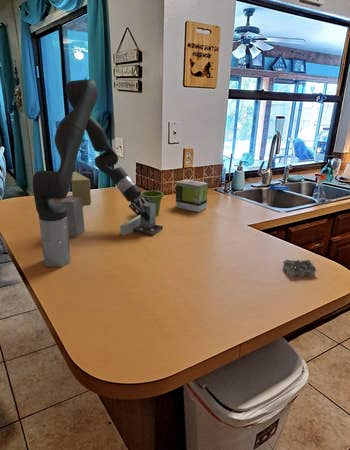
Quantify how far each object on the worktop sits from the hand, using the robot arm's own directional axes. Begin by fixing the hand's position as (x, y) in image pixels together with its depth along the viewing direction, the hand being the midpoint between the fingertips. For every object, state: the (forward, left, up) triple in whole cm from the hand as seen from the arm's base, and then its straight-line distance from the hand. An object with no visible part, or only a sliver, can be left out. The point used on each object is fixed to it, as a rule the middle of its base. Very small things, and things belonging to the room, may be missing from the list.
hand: (151, 218), depth 152 cm
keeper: (+1, +2, -6) cm, 7 cm away
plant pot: (+24, 0, -7) cm, 25 cm away
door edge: (+4, +8, -6) cm, 11 cm away
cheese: (+47, +43, -7) cm, 64 cm away
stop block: (+1, +2, -5) cm, 5 cm away
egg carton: (-38, -54, -7) cm, 66 cm away
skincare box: (-4, +34, -7) cm, 35 cm away
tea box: (+36, -22, -7) cm, 43 cm away
